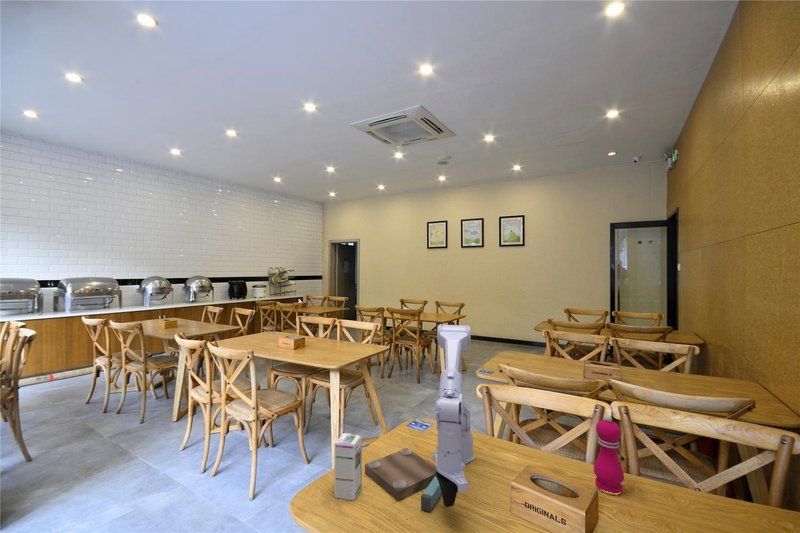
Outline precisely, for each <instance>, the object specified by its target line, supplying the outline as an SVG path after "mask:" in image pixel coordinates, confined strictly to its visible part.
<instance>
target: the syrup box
mask: <svg viewBox="0 0 800 533" xmlns="http://www.w3.org/2000/svg"><path fill="white" fill-rule="evenodd" d="M333 446H334V454H333V455H334V456H333V458H334V468H333V469H334V498H337V499H341V500H348V501H355V500H356V498H357V496H358V495H359V493H360V491H361V489H362V484H363V483H362V474H363V473H362V470H363V469H362V435H361V434H358V433H350V432H349V433H348V432H345V433H343V432H342V433H341V435H340V436H339V437H338V438H337V439H336V441H335V442H334V445H333Z"/></svg>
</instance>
